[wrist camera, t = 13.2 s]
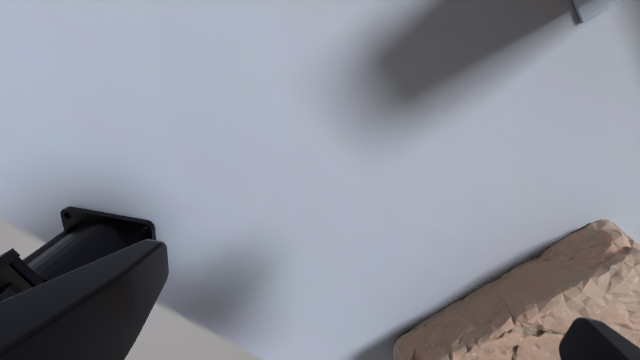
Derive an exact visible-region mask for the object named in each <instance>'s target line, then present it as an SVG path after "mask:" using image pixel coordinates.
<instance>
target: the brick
mask: <svg viewBox="0 0 640 360" xmlns="http://www.w3.org/2000/svg"><path fill="white" fill-rule="evenodd" d="M578 317H584V318H590V319H595V320H599V321H601V322H603V323H605V324H606V325H608V326H609V327H611V328H612V329H613V330H615V331H616V332H618V333H619V334H621V335H622V336H623V337H625V338H626V339H628V340H629V341H630V342H632V343H633V344H635V345H636V346H638V347H639V348H640V245H639V244H638V243H636V242H635V241H634V240H633V239H632V238H630V237H629V236H627V235H626V234H625V233H624V232H623V231H622V230H621V229H620V228H619V227H618V226H617V225H616V224H615V223H613V222H611V221H609V220H602V219H601V220H599V221H597V222H593V223H591V224H589V225H588V226H586V227H584V228H583V229H581V230H579V231H576V232H573V233H571V234H569V235H568V236H566V237H565V238H563V239H562V240H560V241H558V242H557V243H555V244H554V245H552V246H551V247H549V248H548V249H546V250H545V251H544V252H543V253H542V254H541V255H540V257H535V258H533V259H532V260H529V261H527V262H525V263H523V264H520V265H518V266H516V267H514V268H513V269H512V270H511V271H510V272H507V273H505V274H504V275H503V276H501V277H500V278H499V279H497V280H495V281H493V282H490V283H487V284H485V285H484V286H482V287H480V288H479V289H478V290H476V291H474V292H472V293H470V294H469V295H467V296H466V297H465V298H464V300H459V301H456V302H455V303H453V304H451V305H450V306H448V307H446V308H445V309H444V310H442V311H440V312H438V313H436V314H435V315H433V316H431V317H430V318H428V319H426V320H424V321H423V322H421V323H420V324H419V325H418V326H416V327H414V328H413V329H412V330H411V331H409V332H408V333H406V334H404V335H402V336H401V337H400V338H399V339H398V340H397V341H396V343H395V345H394V347H393V350H392V351H393V360H561V358H560V355H559V344H560V341H561V340H562V338H563V336H564V335H565V333H566V332H567V330H568V329H569V327H570V325H571V324H572V322H573V321H574V320H575V319H576V318H578Z"/></svg>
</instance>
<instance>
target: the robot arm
mask: <svg viewBox="0 0 640 360" xmlns="http://www.w3.org/2000/svg"><path fill="white" fill-rule="evenodd" d="M61 218H62V223H63V227H64V231H63V232H62V233H60V234H59V235H57V236H56V237H55V238H53V239H52V240H50V241H49V242H48V243H46V244H45V245H43V246H42V247H41V248H39V249H38V250H36V251H35V252H33V253H32V254H31V255H29V256H28V257H27V258H25V259H24V260H21V259H20V258H19V256H20V255H19V254H18V253H17V252H16V251H15V250H14V249H13V248H12V249H11V250H9V251H8V252H6V253H4V254H2V255H1V256H0V360H124V359H125V357H126V356H127V354H128V353H129V351H130V349H131V348H132V346H133V344H134V342H135V341H136V339H137V337H138V335H139V333H140V331H141V329H142V327H143V325H144V324H145V322H146V319H147V318H148V316H149V314H150V312H151V310H152V308H153V306H154V304H155V302H156V300H157V298H158V296H159V294H160V292H161V290H162V288H163V286H164V284H165V282H166V280H167V277H168V270H169V269H168V257H167V247H166V244H165V243H164V242H162V241H156V235H155V227H154V224H153V223H152V222H150V221H148V220H143V219H138V218H132V217H126V216H121V215H115V214H109V213H104V212H98V211H92V210H87V209H81V208H75V207H66V208H65V209H63V210H62V211H61ZM145 227H147V228H148V229H146V228H145ZM559 355H560V358H561V360H640V348H639V347H638V346H636V345H635V344H633V343H632V342H630V341H629V340H628V339H626V338H625V337H623V336H622V335H621V334H619V333H618V332H616V331H615V330H613V329H612V328H611V327H609V326H608V325H606V324H605V323H603V322H601V321H599V320H595V319H590V318H584V317H578V318H576V319H575V320H574V321H573V322H572V324H571V325H570V327H569V329H568V330H567V332H566V333H565V335H564V336H563V338H562V340H561V341H560V344H559Z"/></svg>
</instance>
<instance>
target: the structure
mask: <svg viewBox="0 0 640 360" xmlns="http://www.w3.org/2000/svg"><path fill="white" fill-rule="evenodd" d="M620 1H622V0H573V3H574V6H575V8H576V11H577V14H578V16H579V19H580V22H581V23H584V22H586V21H588V20H589V19H591V18H593V17H594V16H596V15H598V14H600V13H601V12H603V11H605V10H606V9H608V8H610V7H612V6H613V5H615V4H617V3H618V2H620Z"/></svg>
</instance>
